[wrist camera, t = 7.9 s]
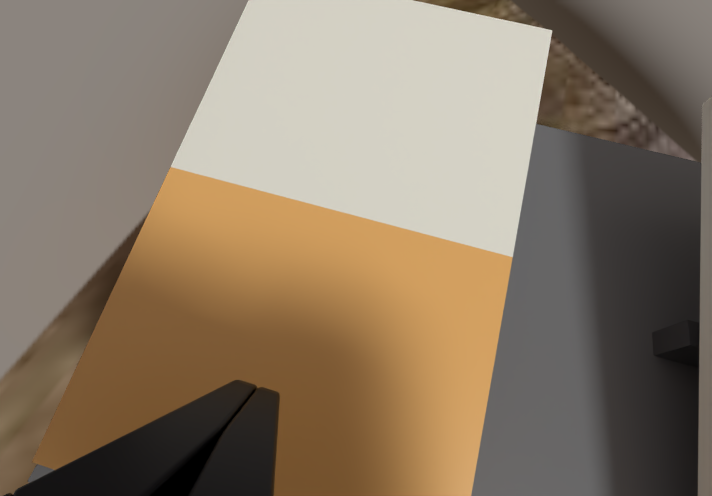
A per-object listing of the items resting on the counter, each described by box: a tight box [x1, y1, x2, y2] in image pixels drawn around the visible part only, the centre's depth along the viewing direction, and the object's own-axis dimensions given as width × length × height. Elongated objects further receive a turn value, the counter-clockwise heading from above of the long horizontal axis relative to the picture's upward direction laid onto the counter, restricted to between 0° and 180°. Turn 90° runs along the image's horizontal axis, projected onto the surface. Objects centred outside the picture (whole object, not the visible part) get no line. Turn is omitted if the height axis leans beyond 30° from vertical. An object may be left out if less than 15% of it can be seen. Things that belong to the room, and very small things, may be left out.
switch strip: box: [28, 124, 701, 496], centre depth 16 cm, size 18×28×8 cm, turn 74°
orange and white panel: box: [32, 0, 552, 496], centre depth 12 cm, size 16×10×1 cm, turn 164°
